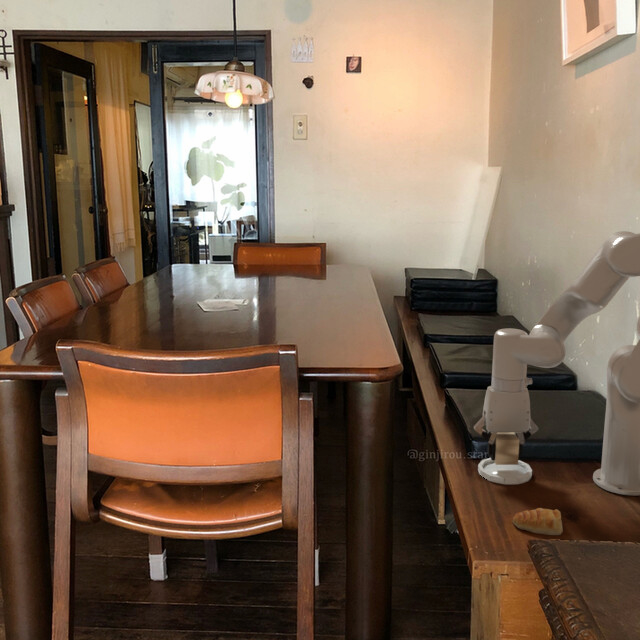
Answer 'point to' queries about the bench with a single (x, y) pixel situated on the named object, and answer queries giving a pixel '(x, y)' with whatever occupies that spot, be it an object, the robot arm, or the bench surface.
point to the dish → (505, 472)
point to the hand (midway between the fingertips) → (504, 457)
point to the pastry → (539, 521)
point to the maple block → (506, 448)
